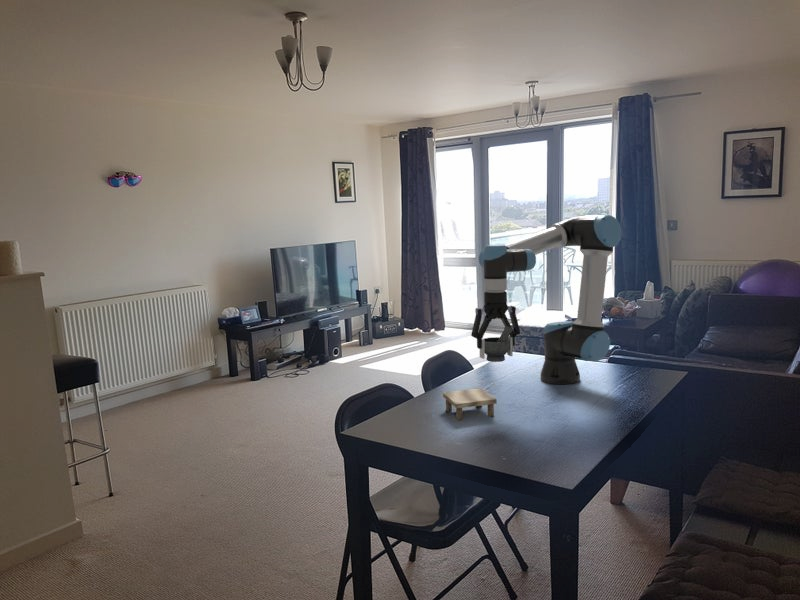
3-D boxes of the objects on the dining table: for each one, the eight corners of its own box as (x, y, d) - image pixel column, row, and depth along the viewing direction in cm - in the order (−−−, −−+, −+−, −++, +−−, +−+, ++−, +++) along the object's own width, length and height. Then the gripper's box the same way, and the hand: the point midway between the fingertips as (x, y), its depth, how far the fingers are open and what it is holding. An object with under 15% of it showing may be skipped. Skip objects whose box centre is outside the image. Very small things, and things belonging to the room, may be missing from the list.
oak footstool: (481, 404, 210) (480, 388, 209) (496, 416, 197) (496, 399, 196) (443, 409, 207) (442, 392, 206) (456, 421, 194) (456, 404, 193)
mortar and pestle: (476, 360, 202) (475, 326, 201) (490, 355, 210) (489, 321, 208) (505, 364, 195) (504, 328, 194) (519, 359, 203) (518, 324, 201)
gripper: (520, 288, 206) (521, 351, 208) (460, 291, 200) (461, 357, 203) (530, 290, 198) (530, 356, 201) (468, 294, 193) (469, 361, 196)
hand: (496, 356), depth 202 cm, fingers closed on mortar and pestle, 9 cm apart
